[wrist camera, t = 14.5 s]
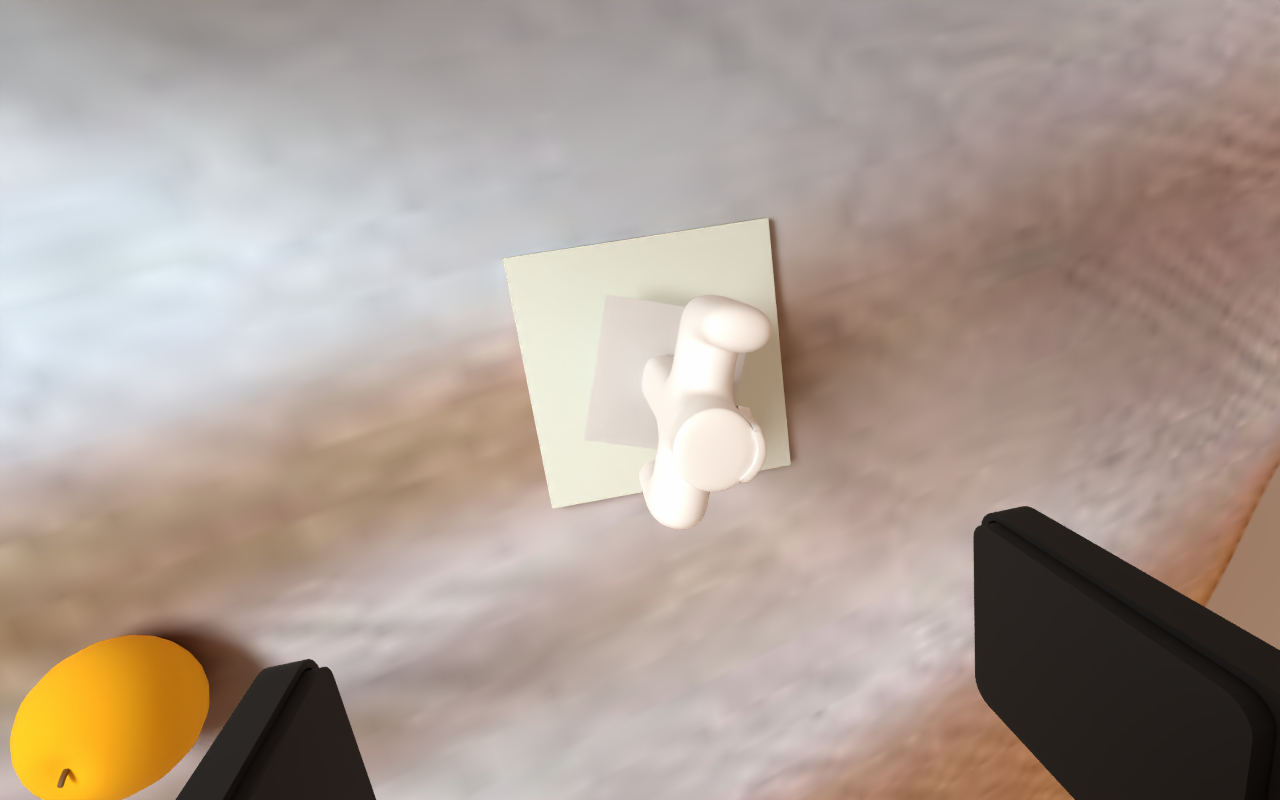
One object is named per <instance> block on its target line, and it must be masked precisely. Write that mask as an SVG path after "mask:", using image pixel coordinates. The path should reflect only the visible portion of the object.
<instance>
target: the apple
mask: <svg viewBox="0 0 1280 800" xmlns="http://www.w3.org/2000/svg"><path fill="white" fill-rule="evenodd" d="M209 704H210V700H209V683H208V679H207V677H206V674H205V672H204V670H203V667H202V665H201V664H200V663H199V662H198V661H197V660H196V658H195V657H194V656H193V655H192V654H191V653H190V652H189V651H187V650H186V649H184V648H183V647H181V646H179V645H178V644H176V643H174V642H172V641H169V640H166V639H162V638H159V637H156V636H147V635H126V636H121V637H117V638H112V639H108V640H103V641H100V642H98V643H95V644H92V645H90V646H88V647H87V648H85V649H83V650H81V651H79V652H77V653H76V654H74V655H72V656H70V657H68V658H66V659H65V660H63V661H61V662H60V663H59V664H57V665H56V666H55V667H53V668H52V669H51V670H50V671H49V672H48V673H47V674H46V675H45V676H44V677H43V678H42V679H41V680H40V682H39V683H38V684H37V685H36V686H35V687H34V688H33V689H32V690H31V691H30V692H29V693H28V695H27V696H26V698H25V699H24V700H23V702H22V703H21V706H20V708H19V710H18V712H17V715H16V719H15V722H14V726H13V729H12V733H11V738H10V748H11V756H12V765H13V767H14V769H15V771H16V773H17V775H18V777H19V778H20V780H21V782H22V784H23V785H24V786H25V787H26V788H27V789H29V790H30V791H31V792H32V793H33V794H34V795H35V796H37V797H39V798H41V799H43V800H122V799H124V798H126V797H129V796H131V795H133V794H135V793H137V792H139V791H141V790H142V789H144V788H146V787H148V786H150V785H152V784H153V783H155V782H156V781H158V780H160V779H161V778H162V777H164V776H165V775H166V774H167V773H168V772H170V771H171V770H172V769H173V768H174V767H175V766H176V765H177V764H178V763H179V761H180V760H181V759H182V758H183V757H184V756H185V755H186V754H187V753H188V752H189V751H190V750H191V748H192V747H193V746H194V744H195V742H196V741H197V739H198V737H199V735H200V732H201V730H202V727H203V724H204V722H205V719H206V717H207V714H208V711H209Z"/></svg>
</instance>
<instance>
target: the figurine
mask: <svg viewBox="0 0 1280 800" xmlns="http://www.w3.org/2000/svg"><path fill="white" fill-rule="evenodd" d="M771 332H772V327H771V323H770V320H769V319H768V317H767V316H766V315H765V314H764V313H763V312H762V311H760V310H759V309H757V308H755V307H753V306H750V305H748V304H745V303H742V302H739V301H736V300H734V299H731V298H728V297H723V296H718V295H703V296H699V297H696V298H694V299H692V300H691V301H690V302H689V303H688V304H687V305H686V307H683V306H677V305H670V304H664V303H658V302H652V301H645V300H639V299H633V298H627V297H621V296H614V295H608V294H606V300H605V307H604V313H603V320H602V326H601V333H600V339H599V346H598V352H597V359H596V365H595V372H594V378H593V385H592V391H591V398H590V404H589V411H588V417H587V423H586V430H585V436H584V440H587V441H595V442H603V443H611V444H619V445H627V446H635V447H643V448H651V449H657V454H656V459H655V460H653V461H650V462H648V463H646V464H645V465H644V466H643V467H642V468H641V470H640V473H639V481H640V485H641V488H642V491H643V495H644V498H645V501H646V504H647V506H648V509H649V511H650V512H651V514H652V515H653V517H654V518H655V519H656V520H657V521H658V522H660V523H661V524H663V525H665V526H667V527H669V528H673V529H688V528H692V527H694V526H695V525H697V524H698V523H699V522H700V521H701V519H702V518H703V516H704V514H705V511H706V508H707V504H708V499H709V494H710V491H712V492H714V491H722V490H725V489H728V488H731V487H733V486H735V485H736V484H737V483H739V482H743V483H747V482H749V481H751V480H752V479H753V478H754V477H755V476H756V475H757V474H758V472H759V471H760V469H761V467H762V466H763V464H764V461H765V458H766V441H765V437H764V434H763V431H762V429H761V427H760V426H759V425H758V424H757V423H756V422H755V420H756V419H754V418H751V410H750V408H749V407H742V406H737V405H735V403H736V398H737V394H738V389H739V384H740V379H741V374H742V370H743V365H744V360H745V355H746V353H747V352H753V351H756V350H758V349H760V348H762V347H763V346H764V345H765V344H766V343H767V342H768V341H769V339H770V336H771Z"/></svg>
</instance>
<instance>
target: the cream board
mask: <svg viewBox="0 0 1280 800" xmlns="http://www.w3.org/2000/svg"><path fill="white" fill-rule="evenodd" d="M503 263H504V268H505V273H506V278H507V283H508V288H509V293H510V298H511V303H512V308H513V313H514V318H515V323H516V328H517V333H518V338H519V343H520V348H521V353H522V358H523V363H524V368H525V373H526V379H527V384H528V389H529V394H530V399H531V404H532V409H533V414H534V419H535V424H536V429H537V434H538V439H539V444H540V449H541V454H542V459H543V464H544V469H545V474H546V479H547V484H548V489H549V494H550V500H551V505H552V509H553V508H559V507H564V506H569V505H575V504H580V503H586V502H591V501H597V500H602V499H608V498H613V497H618V496H624V495H629V494H635V493H640V492H643V491H642V488H641V485H640V481H639V473H640V470H641V468H642V467H643V466H644V465H645V464H646V463H648V462H650V461H653V460H655V459H656V454H657V449H651V448H643V447H635V446H627V445H619V444H611V443H603V442H595V441H587V440H584V436H585V430H586V423H587V417H588V411H589V404H590V398H591V391H592V385H593V378H594V372H595V365H596V359H597V352H598V346H599V339H600V333H601V326H602V320H603V313H604V307H605V300H606V294H608V295H614V296H621V297H627V298H633V299H639V300H645V301H652V302H658V303H664V304H670V305H677V306H683V307H686V305H687V304H688V303H689V302H690V301H691V300H692V299H694V298H696V297H699V296H703V295H718V296H723V297H728V298H731V299H734V300H736V301H739V302H742V303H745V304H748V305H750V306H753V307H755V308H757V309H759V310H760V311H762V312H763V313H764V314H765V315H766V316H767V317H768V319H769V320H770V323H771V327H772V332H771V336H770V339H769V341H768V342H767V343H766V344H765V345H764V346H763V347H762V348H760V349H758V350H756V351H753V352H747V353H746V355H745V360H744V365H743V370H742V374H741V379H740V384H739V389H738V394H737V398H736V403H735V405H737V406H742V407H749V408H750V410H751V418H754V419H756V420H755V422H756V423H757V424H758V425H759V426H760V427H761V429H762V431H763V434H764V437H765V441H766V458H765V461H764V464H763V466H762V467H761V469H760V470H766V469H771V468H777V467H782V466H787V465H791V463H790V452H789V441H788V430H787V419H786V408H785V397H784V386H783V375H782V364H781V353H780V342H779V331H778V320H777V309H776V298H775V287H774V276H773V265H772V254H771V243H770V232H769V221H768V218H763V219H756V220H750V221H743V222H737V223H730V224H724V225H717V226H711V227H704V228H698V229H691V230H685V231H678V232H672V233H665V234H658V235H652V236H645V237H639V238H632V239H626V240H619V241H613V242H606V243H600V244H593V245H587V246H580V247H574V248H567V249H560V250H554V251H547V252H541V253H534V254H528V255H521V256H515V257H508V258H503Z"/></svg>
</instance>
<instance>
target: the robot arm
mask: <svg viewBox="0 0 1280 800" xmlns="http://www.w3.org/2000/svg"><path fill="white" fill-rule="evenodd" d="M974 616H975V678H976V683H977V687H978V689H979V691H980V694H981V696H982V697H983V699H984V701H985V702H986V703H987V704H988V706H989V707H990V708H991V709H992V710H993V711H994V712H995V713H996V714H997V715H998V717H999V718H1000V719H1001V720H1002V721H1003V722H1004V723H1005V724H1006V725H1007V726H1008V727H1009V728H1010V730H1011V731H1012V732H1013V733H1014V734H1015V735H1016V736H1017V737H1018V738H1019V739H1020V740H1021V742H1022V743H1023V744H1024V745H1025V746H1026V747H1027V748H1028V749H1029V750H1030V751H1031V752H1032V753H1033V755H1034V756H1035V757H1036V758H1037V759H1038V760H1039V761H1040V762H1041V763H1042V764H1043V765H1044V767H1045V768H1046V769H1047V770H1048V771H1049V772H1050V773H1051V774H1052V775H1053V776H1054V777H1055V778H1056V780H1057V781H1058V782H1059V783H1060V784H1061V785H1062V786H1063V787H1064V788H1065V789H1066V790H1067V792H1068V793H1069V794H1070V795H1071V796H1072V797H1073V798H1074V799H1075V800H1280V650H1278V649H1276V648H1275V647H1273V646H1271V645H1269V644H1268V643H1266V642H1264V641H1263V640H1261V639H1259V638H1257V637H1256V636H1254V635H1252V634H1250V633H1249V632H1247V631H1245V630H1243V629H1242V628H1240V627H1238V626H1237V625H1235V624H1233V623H1231V622H1230V621H1228V620H1226V619H1224V618H1223V617H1221V616H1219V615H1217V614H1216V613H1214V612H1212V611H1210V610H1209V609H1207V608H1205V607H1204V606H1202V605H1200V604H1198V603H1197V602H1195V601H1193V600H1191V599H1190V598H1188V597H1186V596H1184V595H1183V594H1181V593H1179V592H1178V591H1176V590H1174V589H1172V588H1171V587H1169V586H1167V585H1165V584H1164V583H1162V582H1160V581H1158V580H1157V579H1155V578H1153V577H1151V576H1150V575H1148V574H1146V573H1145V572H1143V571H1141V570H1139V569H1138V568H1136V567H1134V566H1132V565H1131V564H1129V563H1127V562H1125V561H1124V560H1122V559H1120V558H1119V557H1117V556H1115V555H1113V554H1112V553H1110V552H1108V551H1106V550H1105V549H1103V548H1101V547H1099V546H1098V545H1096V544H1094V543H1092V542H1091V541H1089V540H1087V539H1086V538H1084V537H1082V536H1080V535H1079V534H1077V533H1075V532H1073V531H1072V530H1070V529H1068V528H1066V527H1065V526H1063V525H1061V524H1059V523H1058V522H1056V521H1054V520H1053V519H1051V518H1049V517H1047V516H1046V515H1044V514H1042V513H1040V512H1039V511H1037V510H1035V509H1033V508H1031V507H1028V506H1023V507H1017V508H1013V509H1008V510H1003V511H999V512H994V513H989V514H987V515H986V516H985V517H984V518H983V521H982V525H981V526H978V527H977V528H976V529H975V531H974ZM176 800H376V798H375V795H374V792H373V789H372V786H371V783H370V780H369V778H368V775H367V772H366V769H365V766H364V763H363V760H362V757H361V754H360V751H359V748H358V746H357V743H356V740H355V737H354V734H353V731H352V728H351V725H350V722H349V719H348V716H347V714H346V711H345V708H344V705H343V702H342V699H341V696H340V693H339V690H338V687H337V684H336V682H335V679H334V676H333V674H332V672H331V670H330V669H329V668H328V667H322V668H319V667H318V665H317V664H316V663H315V662H314V661H313V660H311V659H306V660H302V661H297V662H292V663H288V664H283V665H278V666H274V667H269V668H266V669H264V670H262V671H261V672H260V674H259V675H258V676H257V678H256V679H255V681H254V682H253V684H252V685H251V687H250V688H249V690H248V691H247V693H246V694H245V696H244V697H243V699H242V700H241V702H240V703H239V705H238V706H237V708H236V709H235V711H234V712H233V714H232V715H231V717H230V718H229V720H228V721H227V723H226V724H225V726H224V727H223V729H222V730H221V732H220V733H219V735H218V736H217V738H216V739H215V741H214V742H213V744H212V746H211V747H210V749H209V750H208V752H207V753H206V755H205V756H204V758H203V759H202V761H201V762H200V764H199V765H198V767H197V768H196V770H195V771H194V773H193V774H192V776H191V777H190V779H189V780H188V782H187V783H186V785H185V786H184V788H183V789H182V791H181V792H180V794H179V795H178V797H177V798H176Z"/></svg>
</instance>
